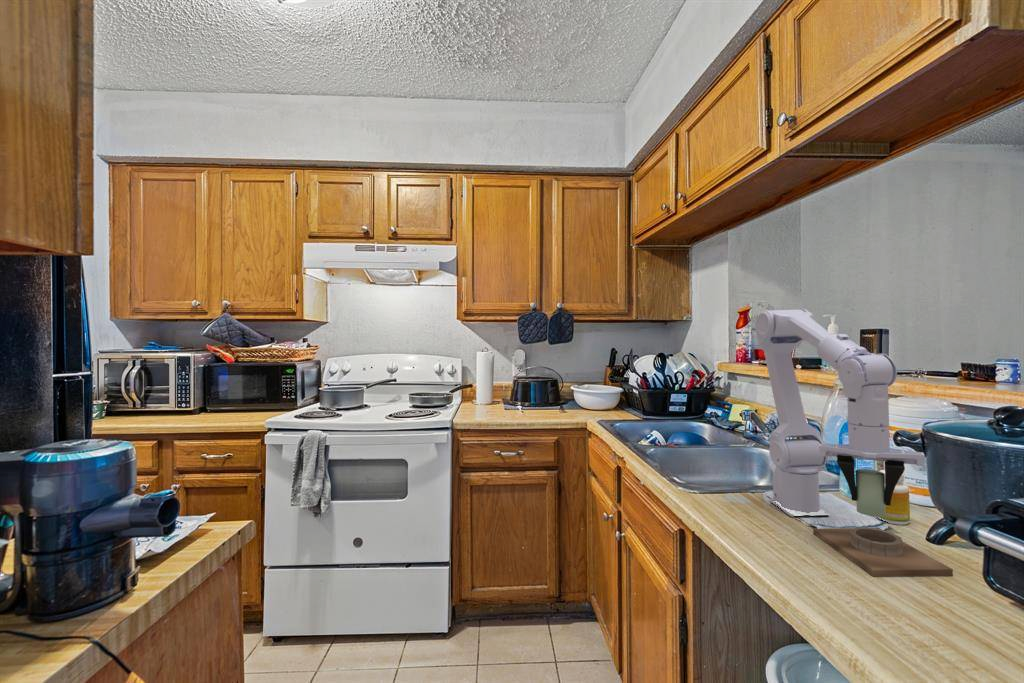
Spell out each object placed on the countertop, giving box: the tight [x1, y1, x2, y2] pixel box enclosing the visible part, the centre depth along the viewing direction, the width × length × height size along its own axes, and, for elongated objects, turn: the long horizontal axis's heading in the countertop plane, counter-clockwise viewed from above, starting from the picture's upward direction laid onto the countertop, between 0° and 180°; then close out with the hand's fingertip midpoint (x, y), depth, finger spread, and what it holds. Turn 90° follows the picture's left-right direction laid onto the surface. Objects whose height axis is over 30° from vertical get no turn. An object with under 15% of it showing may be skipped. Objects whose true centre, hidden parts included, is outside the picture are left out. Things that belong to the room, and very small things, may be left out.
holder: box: [812, 526, 954, 578], centre depth 82 cm, size 16×12×3 cm
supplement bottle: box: [878, 469, 911, 526], centre depth 95 cm, size 5×5×10 cm
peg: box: [855, 468, 886, 518], centre depth 82 cm, size 4×4×7 cm
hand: (870, 501), depth 82 cm, fingers closed on peg, 4 cm apart
